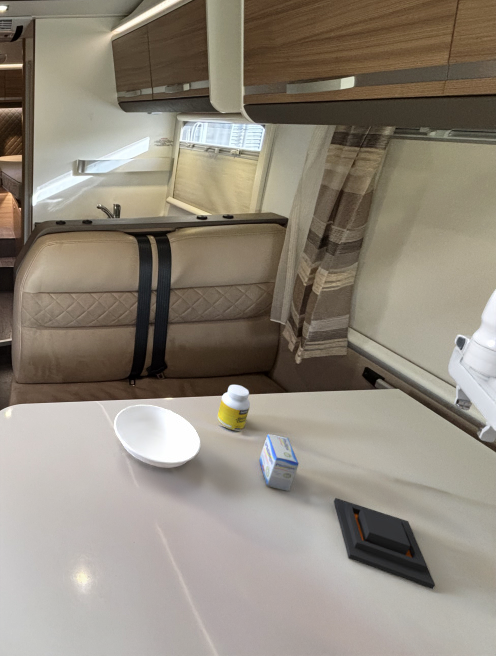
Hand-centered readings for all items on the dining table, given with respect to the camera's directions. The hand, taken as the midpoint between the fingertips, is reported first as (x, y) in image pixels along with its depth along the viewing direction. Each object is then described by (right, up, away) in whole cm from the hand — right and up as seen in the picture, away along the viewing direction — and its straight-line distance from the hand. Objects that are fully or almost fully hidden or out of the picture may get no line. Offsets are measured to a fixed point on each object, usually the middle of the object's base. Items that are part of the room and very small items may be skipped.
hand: (472, 422), depth 80 cm
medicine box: (-25, -19, +19) cm, 37 cm away
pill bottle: (-26, -13, +34) cm, 45 cm away
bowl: (-50, -17, +26) cm, 59 cm away
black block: (-14, -24, +3) cm, 28 cm away
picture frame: (-14, -25, +4) cm, 29 cm away
